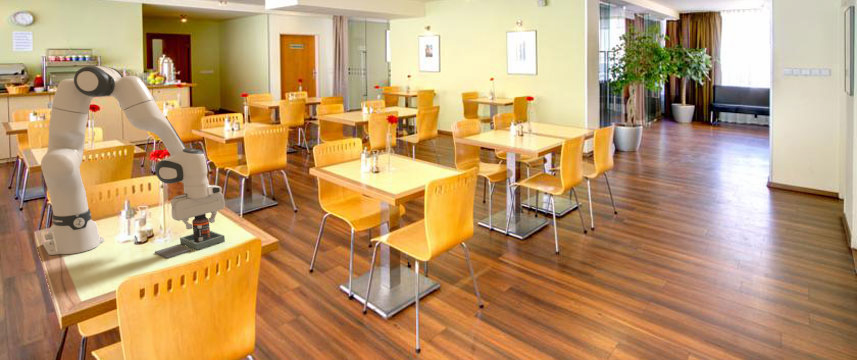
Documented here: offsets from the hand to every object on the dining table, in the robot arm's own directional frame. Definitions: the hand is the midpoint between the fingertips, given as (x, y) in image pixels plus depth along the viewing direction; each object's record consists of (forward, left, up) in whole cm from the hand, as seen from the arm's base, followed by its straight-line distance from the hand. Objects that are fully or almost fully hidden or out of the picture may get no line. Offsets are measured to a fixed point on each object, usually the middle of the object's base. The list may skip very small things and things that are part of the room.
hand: (200, 225), depth 204 cm
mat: (0, -12, -7) cm, 14 cm away
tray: (0, 0, -7) cm, 7 cm away
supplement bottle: (0, 0, -7) cm, 7 cm away
